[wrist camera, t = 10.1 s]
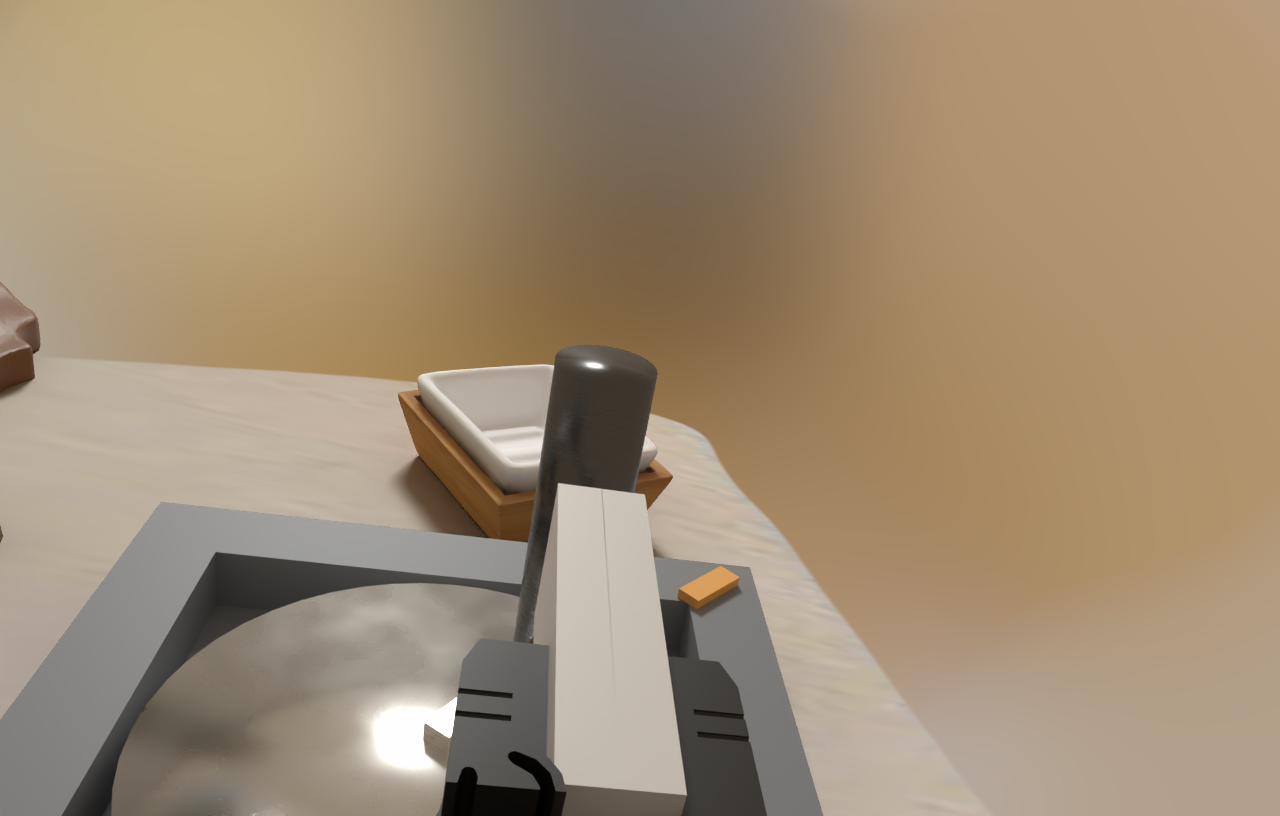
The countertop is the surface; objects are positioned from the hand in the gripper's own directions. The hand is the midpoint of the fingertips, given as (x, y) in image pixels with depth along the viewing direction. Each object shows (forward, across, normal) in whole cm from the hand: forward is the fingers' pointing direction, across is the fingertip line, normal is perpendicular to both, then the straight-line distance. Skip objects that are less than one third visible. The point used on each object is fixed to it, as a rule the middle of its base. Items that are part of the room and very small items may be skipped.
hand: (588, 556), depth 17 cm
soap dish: (+32, 0, -18) cm, 36 cm away
